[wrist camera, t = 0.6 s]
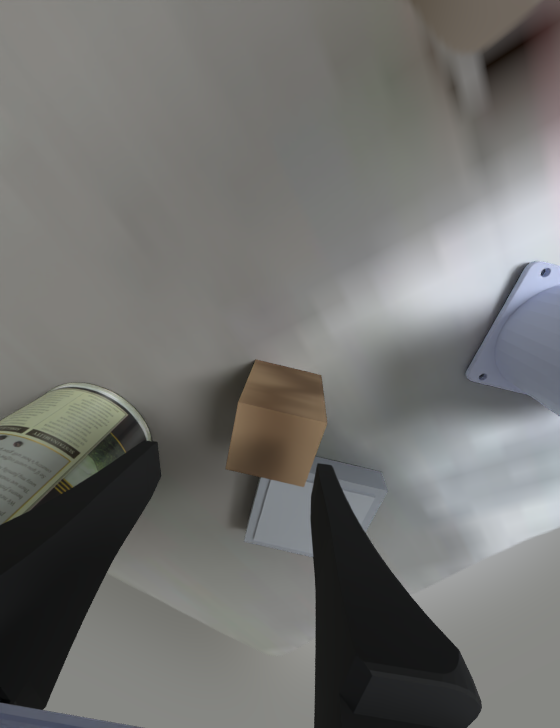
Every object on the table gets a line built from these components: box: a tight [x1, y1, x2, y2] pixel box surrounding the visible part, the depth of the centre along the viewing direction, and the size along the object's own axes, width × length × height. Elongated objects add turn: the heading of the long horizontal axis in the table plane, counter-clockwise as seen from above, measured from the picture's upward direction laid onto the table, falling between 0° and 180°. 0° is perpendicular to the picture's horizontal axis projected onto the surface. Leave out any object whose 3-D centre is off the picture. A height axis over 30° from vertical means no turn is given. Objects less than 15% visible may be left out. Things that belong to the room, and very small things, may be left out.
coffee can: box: [0, 383, 152, 525], centre depth 18 cm, size 10×10×14 cm
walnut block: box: [226, 360, 327, 487], centre depth 19 cm, size 5×5×6 cm
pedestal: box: [244, 456, 388, 557], centre depth 25 cm, size 10×10×2 cm
